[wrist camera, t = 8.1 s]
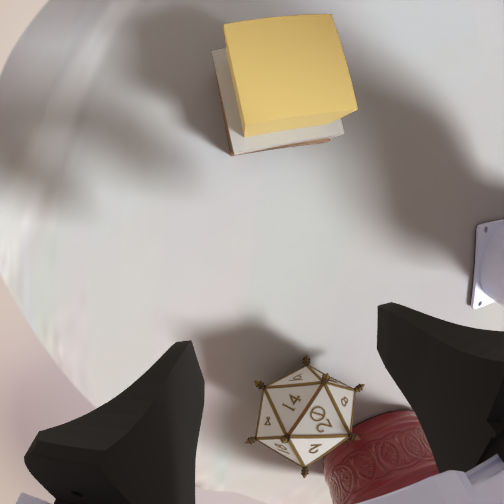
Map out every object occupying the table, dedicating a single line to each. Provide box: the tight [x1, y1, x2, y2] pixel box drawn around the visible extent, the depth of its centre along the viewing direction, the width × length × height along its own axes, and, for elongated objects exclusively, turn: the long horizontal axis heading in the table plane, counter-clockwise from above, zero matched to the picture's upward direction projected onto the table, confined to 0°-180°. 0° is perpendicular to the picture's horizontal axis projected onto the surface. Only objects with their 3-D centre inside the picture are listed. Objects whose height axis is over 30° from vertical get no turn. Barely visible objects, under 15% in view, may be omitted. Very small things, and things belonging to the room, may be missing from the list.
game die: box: [245, 355, 365, 478], centre depth 20 cm, size 9×8×10 cm
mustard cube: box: [223, 14, 358, 138], centre depth 12 cm, size 4×4×4 cm
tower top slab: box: [211, 48, 344, 155], centre depth 16 cm, size 6×6×2 cm
